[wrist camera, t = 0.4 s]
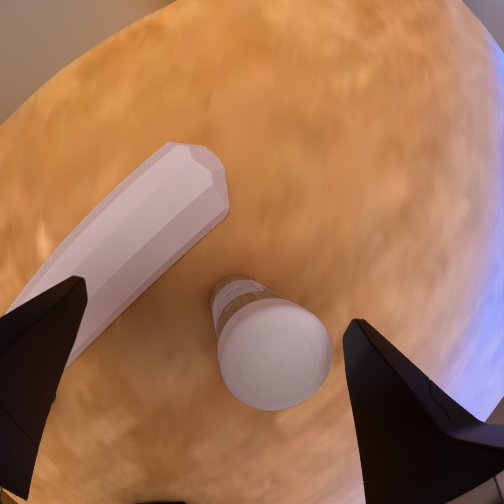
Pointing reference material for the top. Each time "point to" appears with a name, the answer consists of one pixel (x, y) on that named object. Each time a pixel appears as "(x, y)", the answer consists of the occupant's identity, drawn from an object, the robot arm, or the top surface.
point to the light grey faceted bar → (136, 234)
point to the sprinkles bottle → (267, 345)
